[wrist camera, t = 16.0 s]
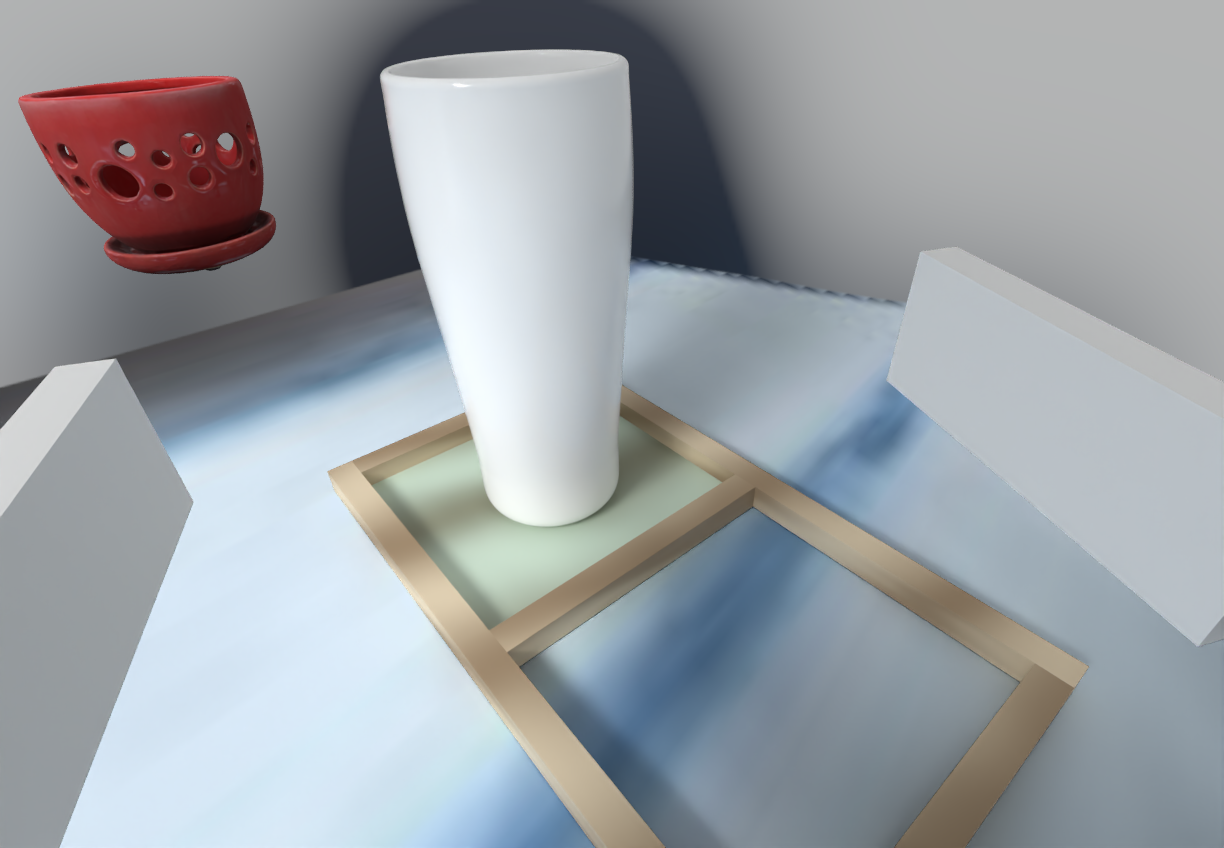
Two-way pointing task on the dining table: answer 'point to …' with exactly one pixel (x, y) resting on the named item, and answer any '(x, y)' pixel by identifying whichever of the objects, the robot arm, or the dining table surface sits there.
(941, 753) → the dining table surface
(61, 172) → the plant pot
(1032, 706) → the wooden window frame
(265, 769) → the dining table surface
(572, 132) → the drinking glass
